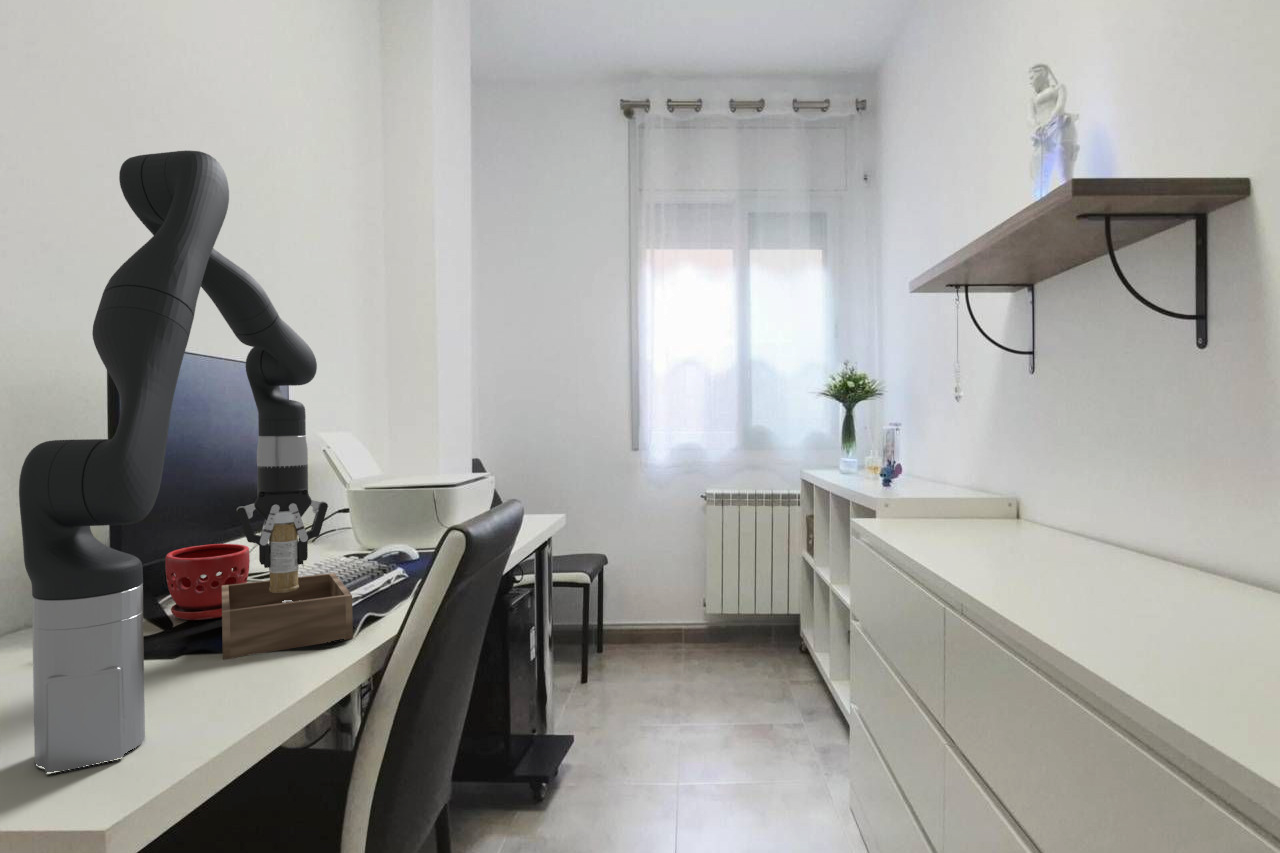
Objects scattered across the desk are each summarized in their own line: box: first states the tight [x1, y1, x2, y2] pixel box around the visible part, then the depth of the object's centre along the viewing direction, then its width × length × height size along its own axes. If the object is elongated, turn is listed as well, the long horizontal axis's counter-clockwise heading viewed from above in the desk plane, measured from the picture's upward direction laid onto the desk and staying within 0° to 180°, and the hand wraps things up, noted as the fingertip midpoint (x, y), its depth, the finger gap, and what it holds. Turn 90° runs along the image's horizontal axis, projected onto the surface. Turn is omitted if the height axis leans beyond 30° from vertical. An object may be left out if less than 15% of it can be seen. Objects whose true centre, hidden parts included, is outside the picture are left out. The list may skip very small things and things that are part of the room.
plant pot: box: [165, 543, 250, 621], centre depth 126 cm, size 13×13×12 cm
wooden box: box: [221, 572, 354, 660], centre depth 115 cm, size 20×18×7 cm
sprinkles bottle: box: [268, 511, 299, 593], centre depth 115 cm, size 5×5×14 cm
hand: (284, 564), depth 115 cm, fingers closed on sprinkles bottle, 4 cm apart
